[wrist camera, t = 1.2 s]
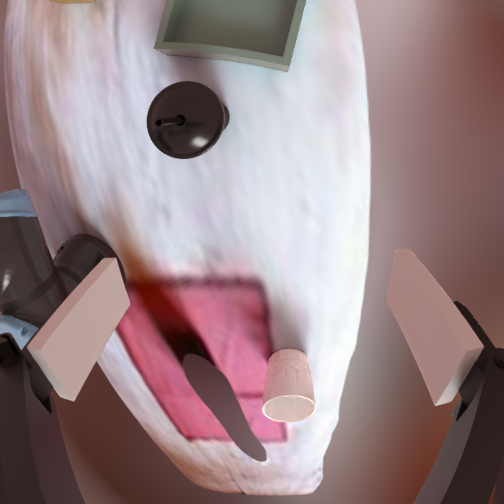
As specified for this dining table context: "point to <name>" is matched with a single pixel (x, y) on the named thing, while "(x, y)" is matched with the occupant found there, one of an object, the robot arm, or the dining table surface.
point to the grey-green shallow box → (232, 30)
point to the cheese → (72, 1)
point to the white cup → (288, 387)
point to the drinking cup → (186, 120)
